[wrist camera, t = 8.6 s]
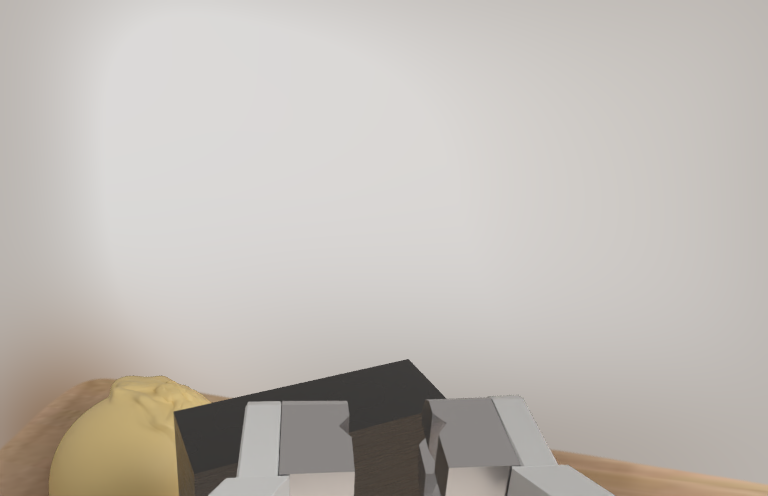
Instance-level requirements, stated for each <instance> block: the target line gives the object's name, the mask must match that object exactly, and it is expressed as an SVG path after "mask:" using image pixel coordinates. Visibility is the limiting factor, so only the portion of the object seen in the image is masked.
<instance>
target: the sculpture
mask: <svg viewBox="0 0 768 496" xmlns="http://www.w3.org/2000/svg"><path fill="white" fill-rule="evenodd" d="M210 403H211V402H210V401H209V400H207V399H206V398H205V397H204V396H203V395H201V394H200V393H198V392H197V391H195V390H192V389H191V388H189V387H187V386H185V385H181V384H178V383H176V382H175V381H172V380H171V379H169V378H167V377H165V376H155V377H140V376H125V377H122V378H119V379H117V380H116V381H115V382H114V384H113V385H112V386H111V390H110V394H109V397H108V398H106V399H104V400H102V401H101V402H99V403H97V404H96V405H94V406H93V407H91V408H90V409H89V410H87V411H86V412H85V413H84V414H83V415H81V416H80V417H79V418H78V419H77V420H76V421H75V422H74V423H73V425H72V426H71V427H70V428H69V429H68V431H67V432H66V433H65V435H64V436H63V438H62V440H61V442H60V443H59V445H58V447H57V450H56V452H55V455H54V457H53V461H52V464H51V469H50V475H49V496H179V489H178V474H177V459H176V444H175V429H174V414H173V412H174V411H178V410H183V409H187V408H192V407H196V406H201V405H205V404H210Z"/></svg>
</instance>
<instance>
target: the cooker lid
mask: <svg viewBox="0 0 768 496" xmlns="http://www.w3.org/2000/svg"><path fill="white" fill-rule="evenodd" d="M427 399H446V398H445V397H444V396H443V395H442V394H441V393H440V392H439V391H438V389H437V388H435V386H434V385H433V384H432V383H431V382H430V381H429V380H428V379H427V378H426V377H425V376H424V375H423V374H422V373H421V372H420V371H419V370H418V369H417V368H416V367H415V366H414V365H413V363H411V362H410V360H408V359H407V360H403V361H398V362H394V363H389V364H385V365H381V366H376V367H372V368H367V369H362V370H358V371H353V372H349V373H345V374H340V375H335V376H331V377H326V378H322V379H318V380H313V381H308V382H304V383H299V384H295V385H290V386H286V387H282V388H277V389H273V390H268V391H264V392H259V393H255V394H251V395H246V396H241V397H237V398H232V399H228V400H223V401H219V402H214V403H210V404H205V405H201V406H196V407H192V408H187V409H183V410H178V411H174V412H173V414H174V429H175V444H176V459H177V474H178V489H179V496H208V495H209V494H210V493H211V492H212V491H213V490H214V489H215V488H216V487H217V486H218V485H219V484H220V483H221V482H222V481H223V480H224V479H226V478H236V476H237V468H238V460H239V453H240V445H241V438H242V430H243V423H244V415H245V407H246V405H247V403H248V402H261V401H280V402H281V403H282V401H347V402H348V408H349V435H350V436H351V437H352V446H353V457H354V468H355V480H354V496H420V490H419V483H418V452H419V444H420V443H421V442H422V441H423V440H424V439H425V434H424V430H423V426H422V422H421V419H422V410H423V405H424V401H425V400H427Z"/></svg>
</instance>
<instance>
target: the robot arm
mask: <svg viewBox="0 0 768 496" xmlns="http://www.w3.org/2000/svg"><path fill="white" fill-rule="evenodd" d="M421 422H422V426H423V430H424V434H425V439H424V440H423V441H422V442H421V443H420V444H419V452H418V483H419V490H420V496H615V495H614V494H612V493H610V492H609V491H607V490H606V489H604V488H603V487H601V486H600V485H598V484H597V483H595V482H594V481H592V480H590V479H589V478H587V477H586V476H584V475H583V474H581V473H580V472H578V471H577V470H575V469H573V468H572V467H570V466H569V465H558V463H557V461H556V459H555V457H554V456H553V454H552V452H551V450H550V448H549V446H548V444H547V442H546V441H545V439H544V437H543V435H542V433H541V431H540V429H539V427H538V425H537V423H536V422H535V420H534V418H533V416H532V414H531V412H530V410H529V408H528V406H527V405H526V403H525V401H524V399H523V398H522V397H521V396H519V395H507V396H489V397H487V398H461V399H427V400H425V401H424V405H423V410H422V419H421ZM354 480H355V468H354V457H353V446H352V437H351V436H350V435H349V408H348V402H347V401H282V403H281V402H280V401H261V402H248V403H247V405H246V407H245V415H244V423H243V430H242V438H241V445H240V453H239V460H238V468H237V476H236V478H226V479H224V480H223V481H222V482H221V483H220V484H219V485H218V486H217V487H216V488H215V489H214V490H213V491H212V492H211V493H210V494H209V495H208V496H354Z"/></svg>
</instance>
